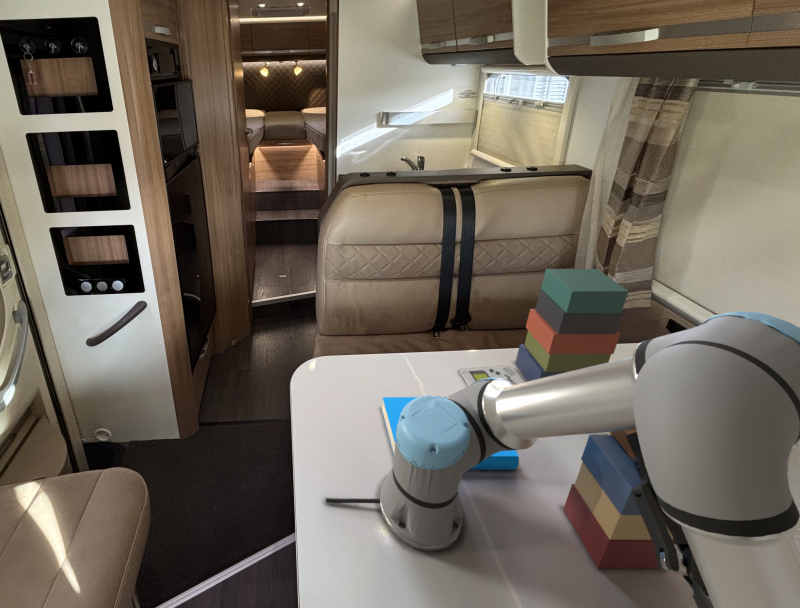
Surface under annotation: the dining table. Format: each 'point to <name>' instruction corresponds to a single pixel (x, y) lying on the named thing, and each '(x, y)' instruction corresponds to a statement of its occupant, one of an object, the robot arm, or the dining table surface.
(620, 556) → the low stack
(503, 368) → the handheld gaming device
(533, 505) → the dining table surface
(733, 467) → the robot arm
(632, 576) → the dining table surface
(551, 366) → the book stack
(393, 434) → the book
